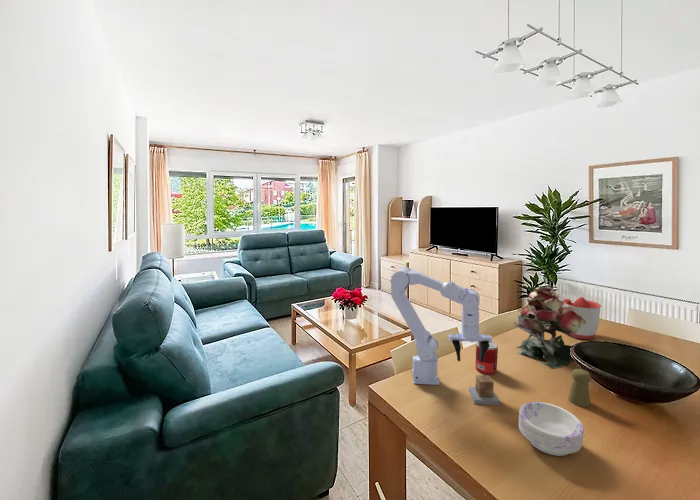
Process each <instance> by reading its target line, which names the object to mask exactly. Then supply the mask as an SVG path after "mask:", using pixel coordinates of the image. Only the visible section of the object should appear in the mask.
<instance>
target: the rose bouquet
mask: <svg viewBox="0 0 700 500" xmlns="http://www.w3.org/2000/svg"><path fill="white" fill-rule="evenodd" d="M528 297H529V298H530V299H525V305H524V306H522V307H521V308H518V309H517V310H516V312H517V313H516V314H517V317H516V318H517V319H515V322H513V327H515V328H517V329H520V330H522V331H524V332H526V333H528V334H529V336H528V337H527V339H524V340H522V343H521V345H520V346H516V347H515V349H521V350H518V351H517V352H518V353H517V354H519V355H527V356H529V357H531V358H534V359H535V360H539V363H541V364H543V365H544V366H547V367H549V368H551V369H553V370H554V369H561V368H563V367H564V366H565V367H567V366H569V364H571V363H572V362H573V361H574V360H573V358H572V357H571V355H570V348H571V347H572V346H573V345H570V344H569V345H568V344H565V341H564V339H563V336H562V334H564V335H566V336H569V337H570V338H573V337H575V336H573V337H572V335H570V334H571V333H576V332H577V331H578V329H580V325H584V324H585V323H586V321H585V320H584V319H582V317H581V316H580V315H579V313H577V312H576V309H574V307H572V306H569V305H567V304H564V302H563V300H560V299H559V298H560V294H558V293H556V291H555V290H554V289H553V287H549V286H537V287H536V288H533V291H532V292H530V293H529V294H528ZM557 332H559V333H562V334H560V335H558V336H557ZM545 333H548V334H550V335H551V337H550V338H549V339H545ZM575 339H578V338H577V337H576V338H575ZM541 355H543V359H544V360H545V361H546V362H544V361H540V358H539V357H538V356H541Z"/></svg>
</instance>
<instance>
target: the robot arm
mask: <svg viewBox="0 0 700 500" xmlns="http://www.w3.org/2000/svg"><path fill="white" fill-rule="evenodd" d="M389 283H390V284H391V288H390V293H391V294H390V295H391V298H392V300H393V302H394V304H395V305H396V307H397V309H398V311H399V313H400V314H401V316H402V317H403V320H404V321H405V323H406V325H407V327H408V329H409V330H410V332H411V334H412V336H413V338H414V345H415V347H416V350H417V352H416V353H417V355H413V356H412V370H411V376H412V381H413V384H415V385H432V386H433V385H434V386H439V385H440V380H439V377H438V362H439V359H438V358H439V357H438V355H437V350H438V348H439V341H438V340H437V339H436V337H434V336H433V335H432V334H431V332H430V331H428V330H427V329H426V328H425V326H424V324H423V323H422V320H421V319H420V317H419V316H418V313H417V312H416V310H415V308H414V306H413V304H412V303H411V301H410V299H409V298H408V296H407V291H408V289H409V286H414V285H421V286H424V287H427V288H430V289H432V290H435V291H438V292H440V294H441V296H442V297H443V298H446V299H448V300H451V301H453V302H456V303H458V304H460V305H462V310H461V333H455V334H448V341H449V342H451V343H452V345H453V347H454V349H455V354H456V359H457V362H461V342H469V343H477V342H479V360H480V362H483V358H484V355H485V353H486V351H487V349H488V348H489V343H492V342H493V337H492V336H491V335H487V334H480V333H479V331H480V307H479V306H480V294H479V293H478V292H477V290H475V289H473V288H468V287H462V286H461V285H458V284H456V282H455V281H451V282H450V281H446V282H441V281H440V280H439V279H436V278H433V277H431V276H429V275H427V274H424V273H423V272H421V271H418V270H416V269H415V268H410V267H407V266H403V267H401V268H400V269H399V270H397V271H396V272H394V273H393V274H392V276H391V278H390V281H389Z"/></svg>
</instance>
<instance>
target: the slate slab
mask: <svg viewBox="0 0 700 500" xmlns="http://www.w3.org/2000/svg"><path fill="white" fill-rule="evenodd" d="M468 393H469V394H470V395H469V396H470V397H471V399H472V402H473V404H475V405H476V404H477V405H491V406H492V405H494V406H500V400H499V398H498V396H497V394H496V392H495V391H494V389H493V398H492V397H479V395H478V393H477V392H476V386H468Z"/></svg>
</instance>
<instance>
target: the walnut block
mask: <svg viewBox="0 0 700 500" xmlns="http://www.w3.org/2000/svg"><path fill="white" fill-rule="evenodd" d="M494 385H495V382H494V380H493V379H492V377H491V376H490V374H484V375H483V374H482V375H481V374H477V375H475V387H476V392H477V393H478V395H479V397H492V398H493V390H494V387H495V386H494Z"/></svg>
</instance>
